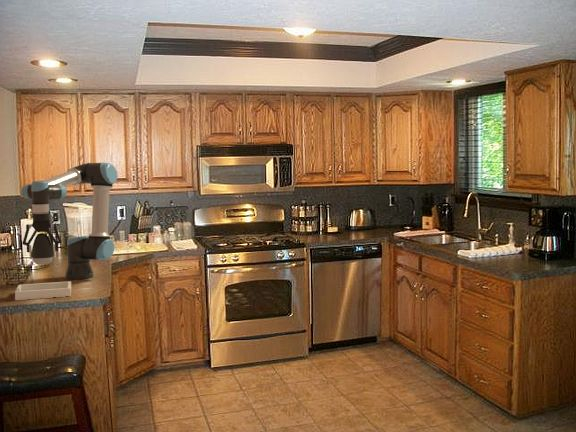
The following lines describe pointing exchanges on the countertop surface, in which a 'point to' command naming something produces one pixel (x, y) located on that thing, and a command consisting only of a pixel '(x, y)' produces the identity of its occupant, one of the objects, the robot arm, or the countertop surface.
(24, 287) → the box
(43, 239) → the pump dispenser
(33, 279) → the countertop surface
